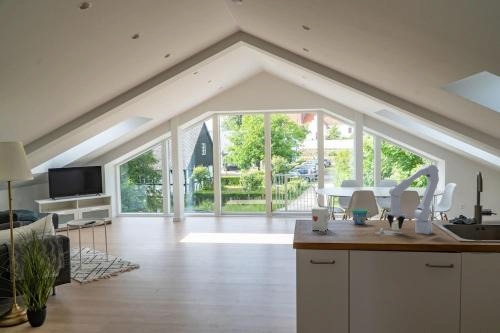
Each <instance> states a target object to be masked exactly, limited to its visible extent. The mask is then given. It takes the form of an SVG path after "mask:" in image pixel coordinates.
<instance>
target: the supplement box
mask: <svg viewBox="0 0 500 333" xmlns="http://www.w3.org/2000/svg"><path fill="white" fill-rule="evenodd" d="M327 229H328V230H329V207H324V206H323V207H322V206H321V207H319V206H315V207H313V208H311V231H312V230H319V231H318V232H326V231H328V230H327ZM325 230H326V231H325Z"/></svg>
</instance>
